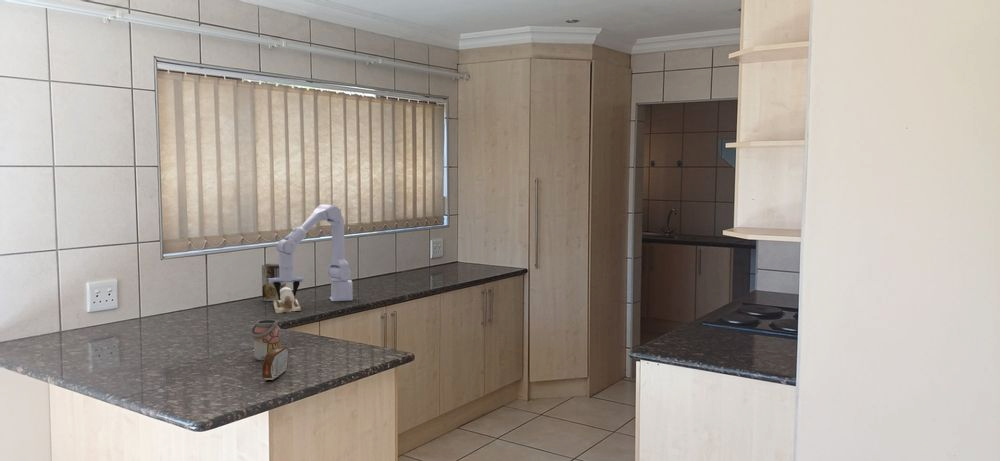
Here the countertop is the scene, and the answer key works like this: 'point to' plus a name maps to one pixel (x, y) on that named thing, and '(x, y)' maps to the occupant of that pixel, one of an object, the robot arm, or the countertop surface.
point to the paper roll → (286, 295)
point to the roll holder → (286, 306)
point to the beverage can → (265, 337)
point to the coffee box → (269, 288)
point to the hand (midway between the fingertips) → (286, 299)
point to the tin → (275, 361)
